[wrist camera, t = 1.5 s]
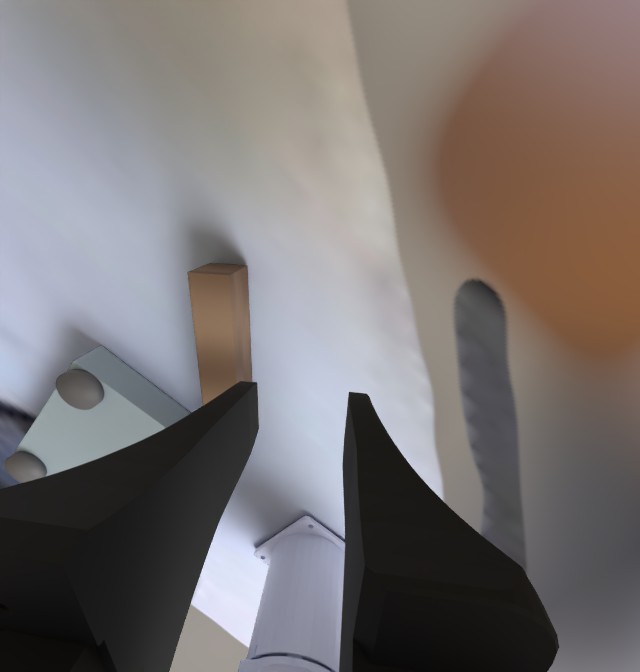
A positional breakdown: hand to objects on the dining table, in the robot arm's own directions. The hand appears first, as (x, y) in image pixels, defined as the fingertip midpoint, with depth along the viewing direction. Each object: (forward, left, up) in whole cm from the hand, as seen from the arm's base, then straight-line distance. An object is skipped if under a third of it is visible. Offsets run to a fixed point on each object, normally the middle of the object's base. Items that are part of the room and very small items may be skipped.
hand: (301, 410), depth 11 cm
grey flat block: (+5, +21, -10) cm, 24 cm away
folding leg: (+2, +7, -10) cm, 13 cm away
